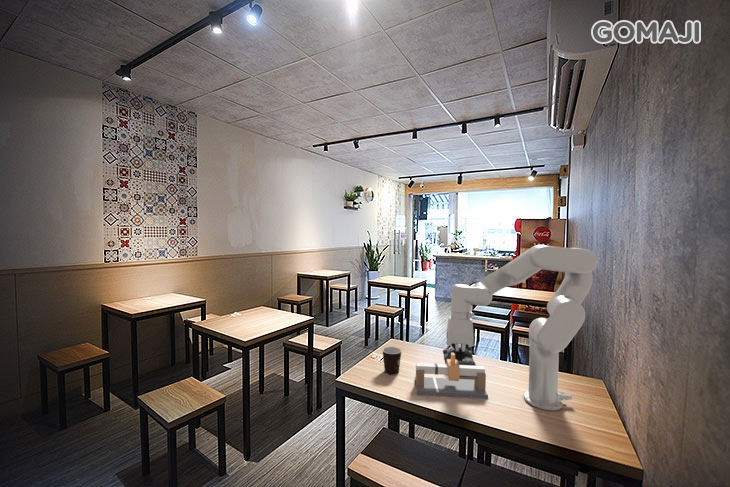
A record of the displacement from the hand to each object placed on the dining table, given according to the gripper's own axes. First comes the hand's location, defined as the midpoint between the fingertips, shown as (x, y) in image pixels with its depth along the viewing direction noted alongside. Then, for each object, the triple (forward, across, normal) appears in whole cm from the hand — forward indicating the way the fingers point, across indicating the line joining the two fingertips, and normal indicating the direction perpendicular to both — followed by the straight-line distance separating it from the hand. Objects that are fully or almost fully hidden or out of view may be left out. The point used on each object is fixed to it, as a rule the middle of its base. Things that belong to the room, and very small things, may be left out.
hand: (459, 359), depth 126 cm
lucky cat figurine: (+12, -3, -17) cm, 21 cm away
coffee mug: (+13, +26, -14) cm, 32 cm away
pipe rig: (+12, +4, 0) cm, 13 cm away
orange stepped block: (+7, +3, 0) cm, 8 cm away
